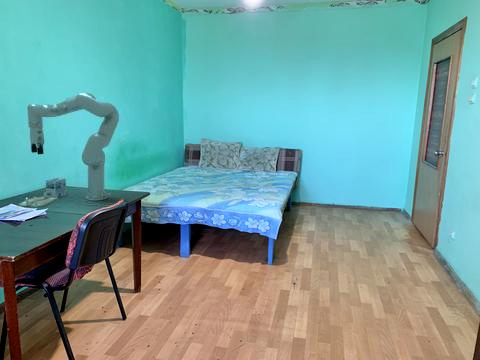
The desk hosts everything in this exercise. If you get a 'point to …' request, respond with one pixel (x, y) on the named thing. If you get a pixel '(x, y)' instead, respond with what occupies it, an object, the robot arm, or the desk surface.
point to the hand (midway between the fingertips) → (37, 153)
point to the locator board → (41, 202)
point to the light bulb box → (56, 187)
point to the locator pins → (35, 199)
